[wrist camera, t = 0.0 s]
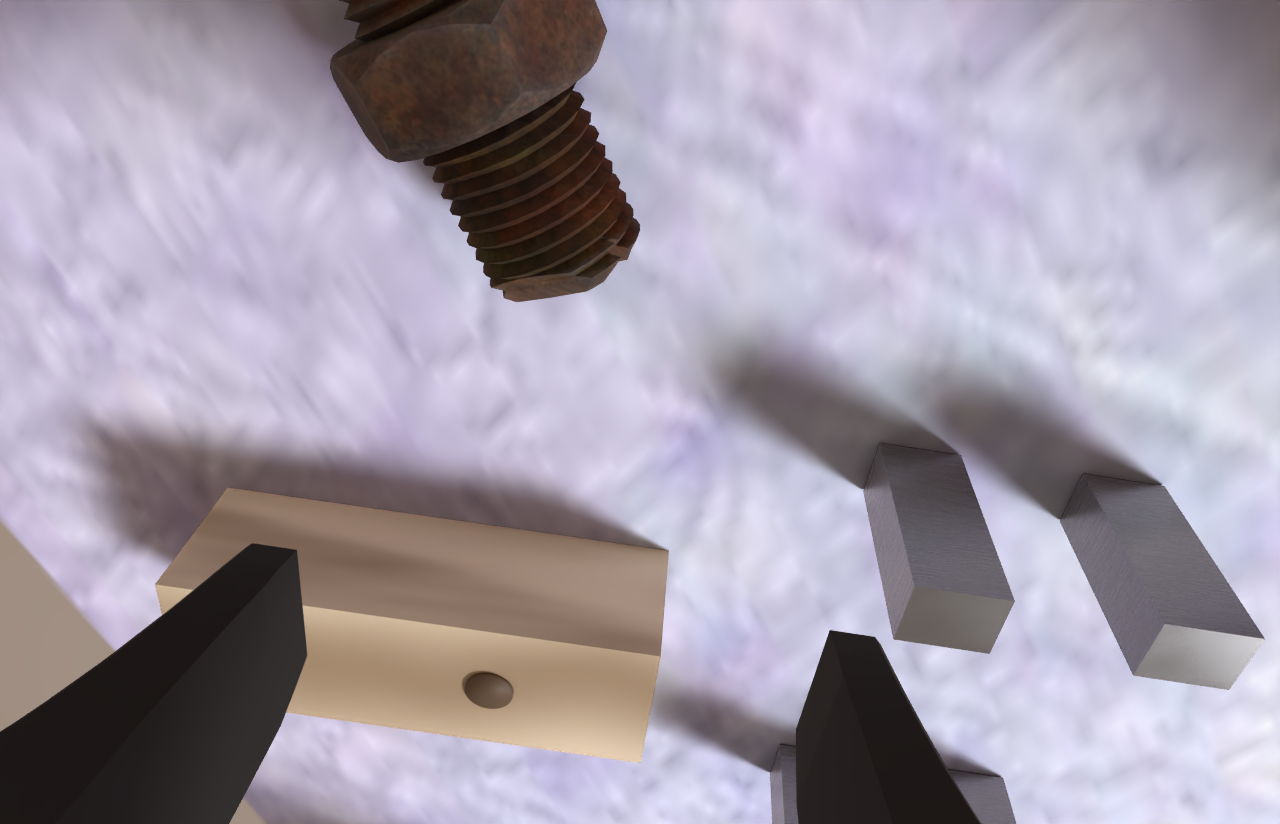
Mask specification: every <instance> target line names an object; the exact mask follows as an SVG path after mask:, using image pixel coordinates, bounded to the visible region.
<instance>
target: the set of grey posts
mask: <svg viewBox="0 0 1280 824" xmlns="http://www.w3.org/2000/svg"><path fill="white" fill-rule="evenodd" d="M863 492H864V497H865V502H866V507H867V512H868V516H869V521H870V526H871V531H872V536H873V541H874V546H875V551H876V556H877V561H878V566H879V570H880V575H881V580H882V585H883V590H884V595H885V600H886V605H887V610H888V615H889V619H890V624H891V629H892V634H893V639H895V640H902V641H909V642H915V643H922V644H929V645H935V646H942V647H948V648H955V649H962V650H968V651H975V652H982V653H988V654H990V652H991V649H992V647H993V645H994V643H995V641H996V639H997V637H998V635H999V633H1000V631H1001V629H1002V627H1003V625H1004V623H1005V620H1006V618H1007V616H1008V614H1009V612H1010V610H1011V608H1012V606H1013V604H1014V602H1015V601H1014V598H1013V595H1012V592H1011V590H1010V587H1009V584H1008V582H1007V579H1006V576H1005V574H1004V571H1003V568H1002V565H1001V563H1000V560H999V557H998V555H997V552H996V549H995V546H994V544H993V541H992V538H991V536H990V533H989V530H988V527H987V525H986V522H985V519H984V517H983V514H982V511H981V509H980V506H979V503H978V500H977V498H976V495H975V492H974V490H973V487H972V484H971V481H970V479H969V476H968V473H967V471H966V468H965V465H964V463H963V460H962V457H961V455H956V454H949V453H943V452H936V451H930V450H923V449H916V448H910V447H903V446H897V445H890V444H883V443H879V446H878V449H877V452H876V455H875V458H874V461H873V464H872V467H871V470H870V473H869V476H868V479H867V482H866V485H865V488H864V491H863ZM770 782H771V804H772V824H799V823H798V814H797V804H796V747H795V746H789V745H782V744H780V746H779V749H778V752H777V755H776V758H775V761H774V764H773V767H772V770H771V773H770Z"/></svg>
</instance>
